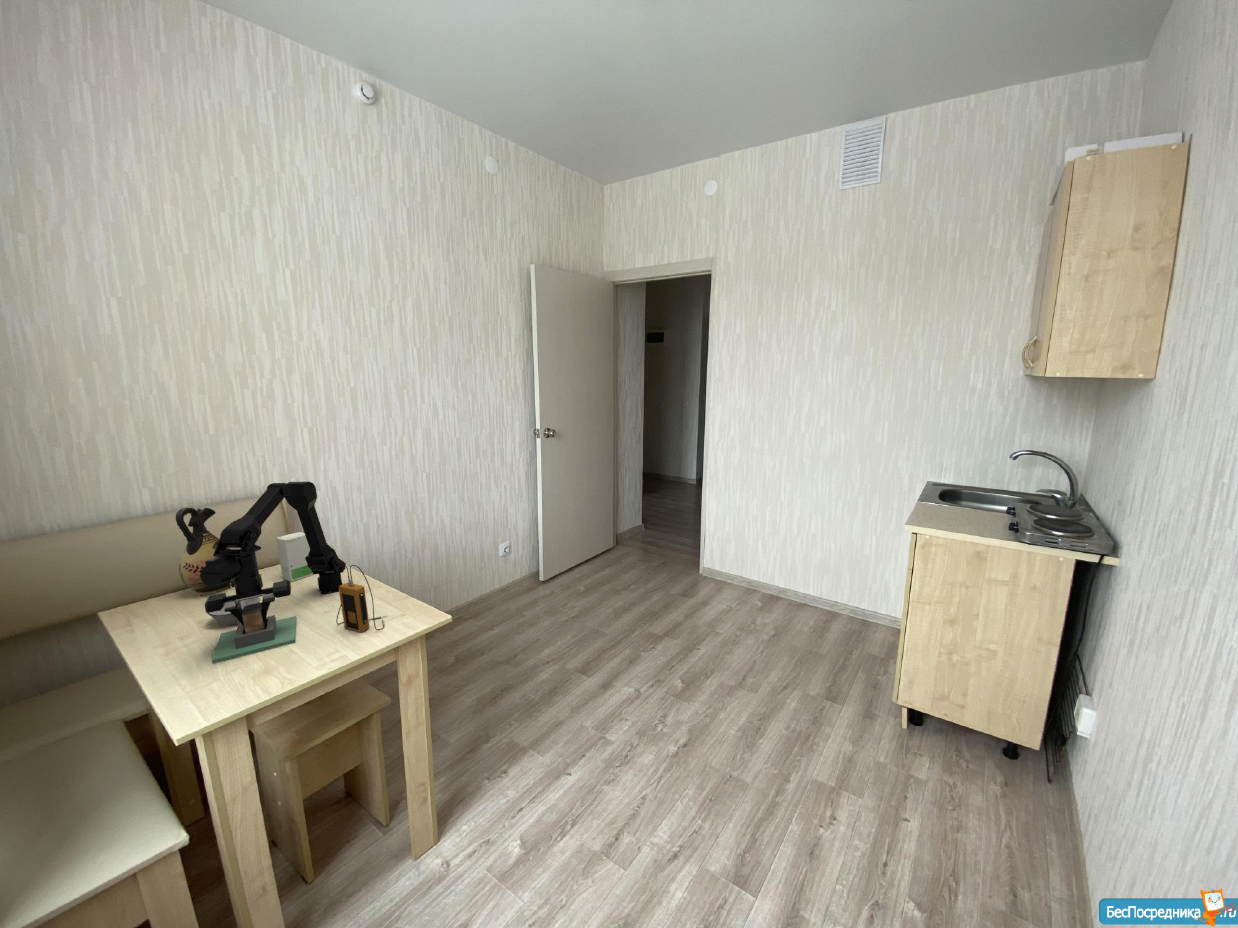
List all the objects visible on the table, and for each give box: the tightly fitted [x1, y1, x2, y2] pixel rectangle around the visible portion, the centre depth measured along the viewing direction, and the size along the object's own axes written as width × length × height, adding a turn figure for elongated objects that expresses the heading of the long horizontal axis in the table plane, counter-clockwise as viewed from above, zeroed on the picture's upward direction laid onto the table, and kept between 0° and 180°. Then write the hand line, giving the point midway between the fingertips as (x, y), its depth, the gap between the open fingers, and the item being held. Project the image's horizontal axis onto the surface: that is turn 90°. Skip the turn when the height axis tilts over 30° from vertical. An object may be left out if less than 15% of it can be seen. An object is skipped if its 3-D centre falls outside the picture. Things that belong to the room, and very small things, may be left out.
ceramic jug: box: [175, 507, 232, 596], centre depth 173 cm, size 17×15×30 cm
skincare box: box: [276, 531, 315, 583], centre depth 184 cm, size 8×7×16 cm
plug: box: [242, 601, 266, 634], centre depth 141 cm, size 4×6×7 cm
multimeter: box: [335, 562, 387, 633], centre depth 147 cm, size 15×10×20 cm
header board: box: [211, 614, 297, 665], centre depth 141 cm, size 18×16×4 cm
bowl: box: [206, 597, 262, 626], centre depth 154 cm, size 13×13×5 cm
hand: (255, 624), depth 141 cm, fingers closed on plug, 4 cm apart
